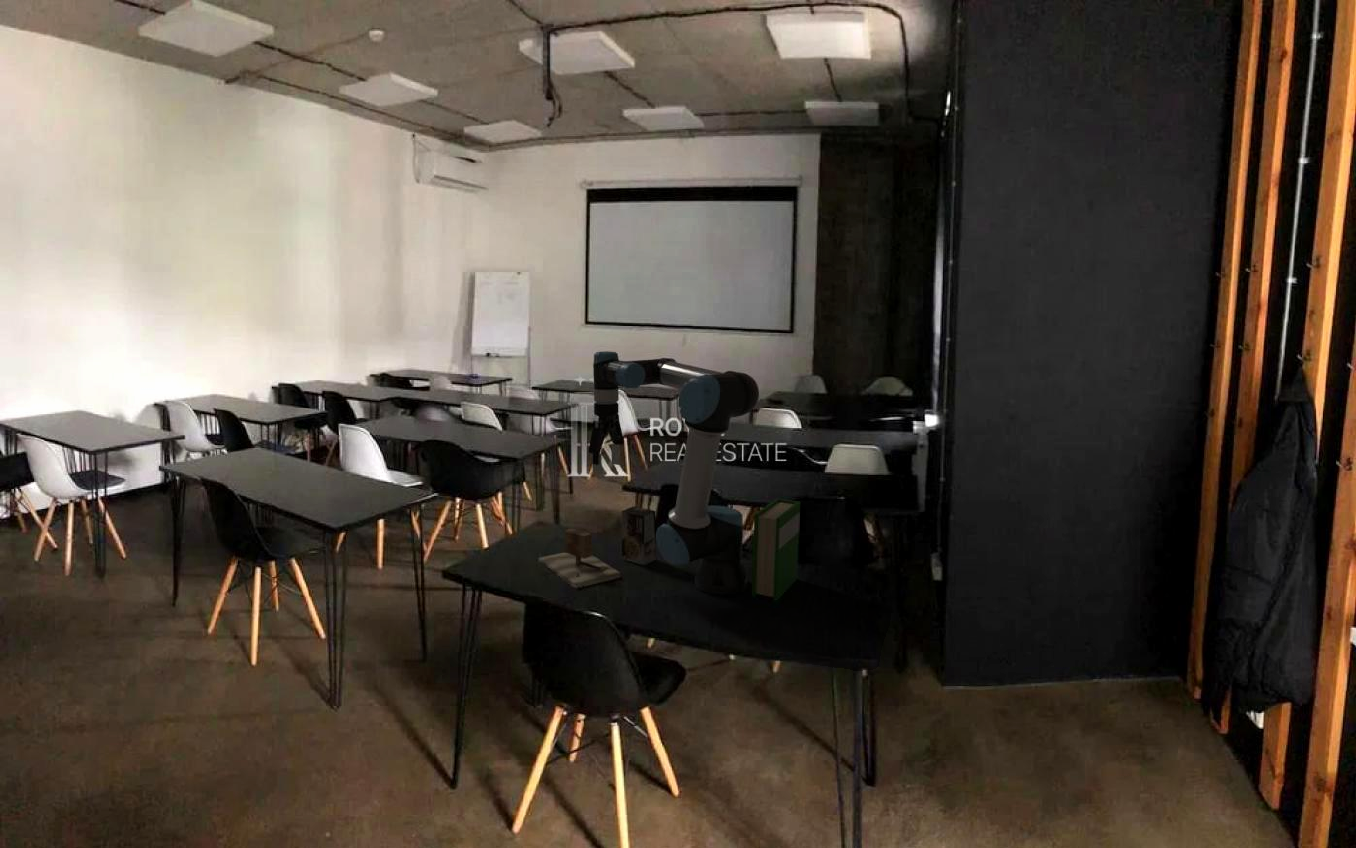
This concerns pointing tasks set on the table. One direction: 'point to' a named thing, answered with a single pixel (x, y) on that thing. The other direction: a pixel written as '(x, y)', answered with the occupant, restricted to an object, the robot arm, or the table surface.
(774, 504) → the hardback book
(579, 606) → the table surface
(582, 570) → the striped wooden board
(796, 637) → the table surface
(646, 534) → the coffee box
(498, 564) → the table surface
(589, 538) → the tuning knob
